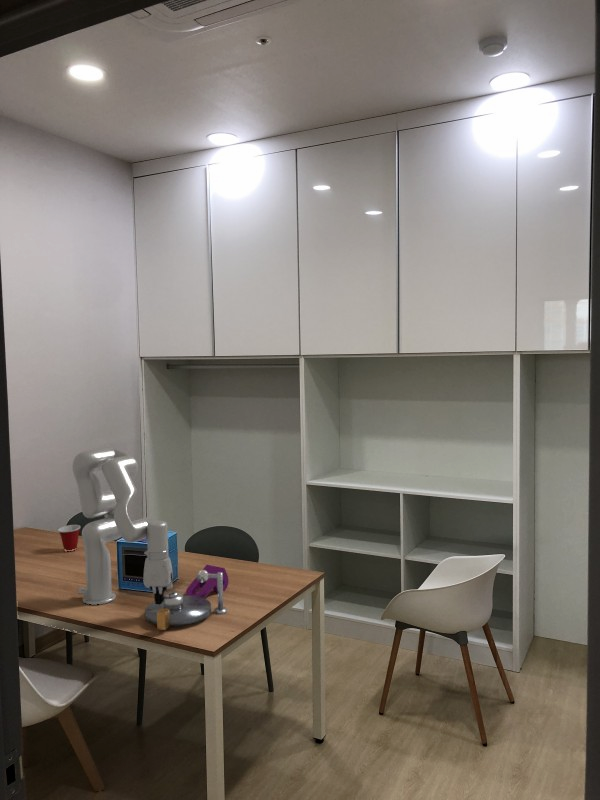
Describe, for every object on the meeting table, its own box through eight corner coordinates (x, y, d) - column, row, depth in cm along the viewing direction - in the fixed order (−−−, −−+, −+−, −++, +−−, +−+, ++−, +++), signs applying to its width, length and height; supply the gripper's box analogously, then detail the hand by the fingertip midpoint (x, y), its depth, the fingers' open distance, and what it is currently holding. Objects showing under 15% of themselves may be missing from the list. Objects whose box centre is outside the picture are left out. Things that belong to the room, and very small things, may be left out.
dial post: (196, 612, 241) (195, 571, 240) (201, 607, 246) (200, 567, 245) (224, 614, 239) (224, 573, 238) (229, 609, 244) (228, 568, 243)
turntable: (129, 627, 225) (128, 610, 225) (161, 598, 252) (161, 583, 251) (194, 632, 220) (193, 614, 220) (219, 602, 247) (219, 587, 247)
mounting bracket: (205, 615, 254) (230, 583, 267) (199, 599, 250) (224, 568, 264) (187, 610, 259) (212, 579, 272) (181, 595, 255) (206, 564, 269)
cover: (160, 609, 235) (160, 595, 235) (169, 602, 242) (168, 589, 242) (178, 611, 234) (178, 597, 233) (186, 604, 240) (185, 590, 240)
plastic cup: (54, 551, 323) (53, 528, 323) (73, 546, 332) (72, 523, 331) (66, 555, 317) (65, 531, 316) (85, 549, 325) (85, 526, 325)
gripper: (134, 556, 236) (136, 605, 237) (172, 558, 233) (174, 608, 234) (143, 550, 243) (145, 598, 244) (180, 552, 240) (182, 600, 241)
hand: (159, 603), depth 239 cm, fingers closed
